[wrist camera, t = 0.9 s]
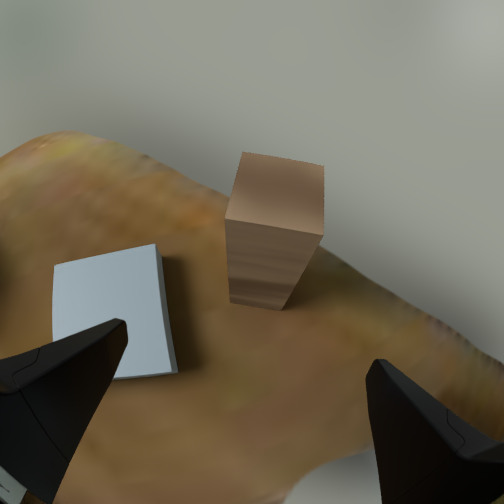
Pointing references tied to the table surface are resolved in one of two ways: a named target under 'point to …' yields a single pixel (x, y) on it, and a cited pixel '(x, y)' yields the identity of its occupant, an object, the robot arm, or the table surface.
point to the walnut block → (272, 227)
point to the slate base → (119, 306)
